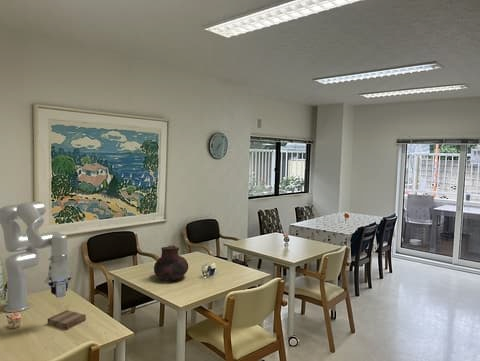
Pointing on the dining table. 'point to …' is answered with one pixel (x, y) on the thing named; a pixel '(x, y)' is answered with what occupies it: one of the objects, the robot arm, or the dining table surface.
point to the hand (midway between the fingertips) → (59, 291)
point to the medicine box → (60, 288)
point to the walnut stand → (66, 319)
